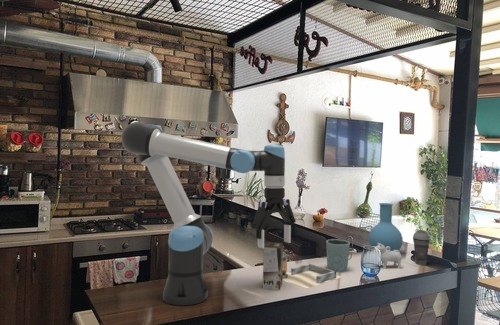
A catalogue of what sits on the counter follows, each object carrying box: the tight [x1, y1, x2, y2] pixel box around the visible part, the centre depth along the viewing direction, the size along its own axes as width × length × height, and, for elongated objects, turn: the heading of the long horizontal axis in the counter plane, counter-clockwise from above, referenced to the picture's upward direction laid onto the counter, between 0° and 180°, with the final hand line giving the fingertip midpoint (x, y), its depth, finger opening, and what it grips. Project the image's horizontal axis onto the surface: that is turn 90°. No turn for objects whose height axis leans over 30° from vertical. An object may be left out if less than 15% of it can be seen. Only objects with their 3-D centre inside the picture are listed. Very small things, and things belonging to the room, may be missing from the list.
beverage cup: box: [412, 219, 431, 266], centre depth 179 cm, size 7×7×20 cm
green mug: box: [325, 238, 351, 273], centre depth 169 cm, size 10×10×12 cm
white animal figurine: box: [375, 243, 403, 270], centre depth 173 cm, size 5×13×11 cm, turn 95°
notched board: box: [283, 263, 343, 289], centre depth 155 cm, size 22×18×4 cm
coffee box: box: [262, 241, 284, 291], centre depth 144 cm, size 9×6×16 cm
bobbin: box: [283, 253, 289, 279], centre depth 154 cm, size 5×5×9 cm
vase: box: [368, 202, 403, 251], centre depth 200 cm, size 16×16×25 cm
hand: (274, 244), depth 143 cm, fingers open, 13 cm apart
